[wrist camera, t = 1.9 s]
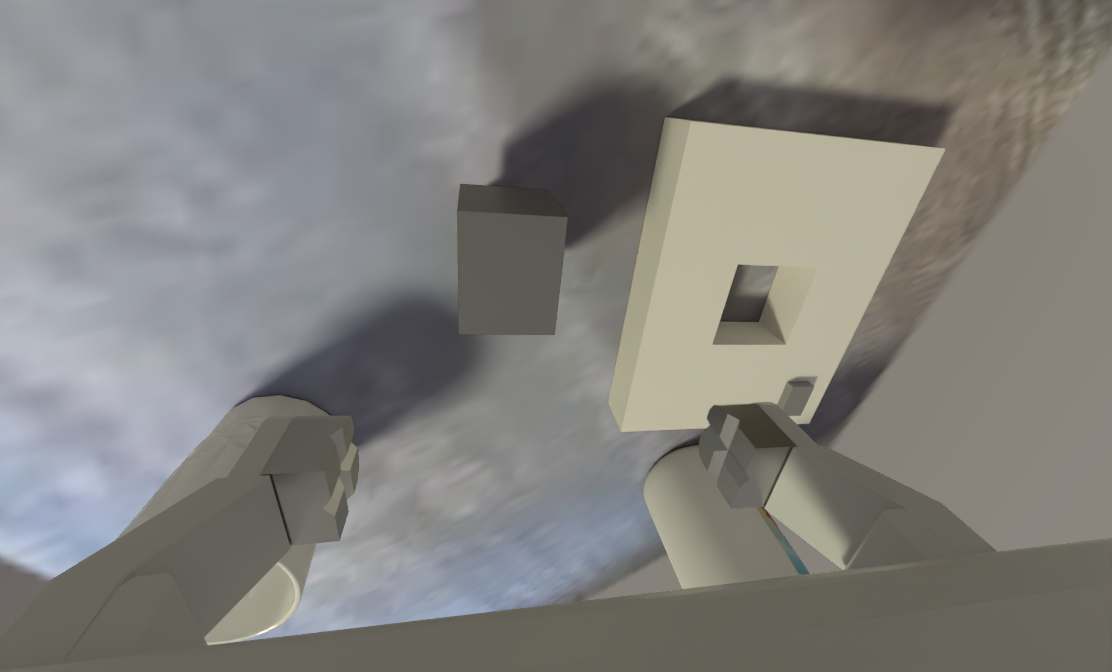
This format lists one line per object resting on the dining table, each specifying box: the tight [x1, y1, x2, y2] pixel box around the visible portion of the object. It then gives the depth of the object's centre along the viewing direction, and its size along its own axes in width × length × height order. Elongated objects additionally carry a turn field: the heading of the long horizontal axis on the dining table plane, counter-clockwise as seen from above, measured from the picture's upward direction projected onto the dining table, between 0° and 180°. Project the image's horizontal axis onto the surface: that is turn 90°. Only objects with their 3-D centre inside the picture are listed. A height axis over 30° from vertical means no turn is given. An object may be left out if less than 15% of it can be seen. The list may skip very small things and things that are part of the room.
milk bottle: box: [644, 445, 810, 589], centre depth 27 cm, size 8×8×20 cm
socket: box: [608, 117, 945, 432], centre depth 26 cm, size 18×14×4 cm
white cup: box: [116, 395, 330, 645], centre depth 23 cm, size 8×8×10 cm
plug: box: [457, 184, 568, 335], centre depth 20 cm, size 5×4×7 cm
